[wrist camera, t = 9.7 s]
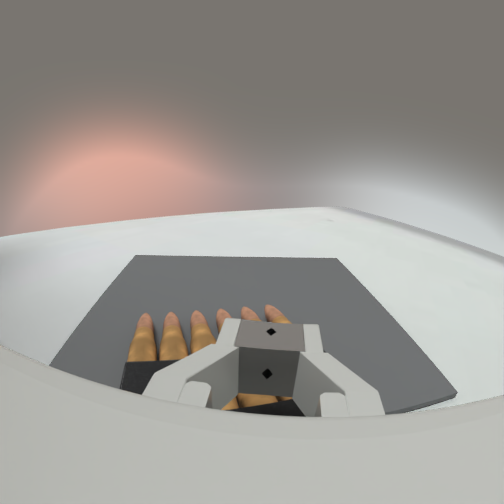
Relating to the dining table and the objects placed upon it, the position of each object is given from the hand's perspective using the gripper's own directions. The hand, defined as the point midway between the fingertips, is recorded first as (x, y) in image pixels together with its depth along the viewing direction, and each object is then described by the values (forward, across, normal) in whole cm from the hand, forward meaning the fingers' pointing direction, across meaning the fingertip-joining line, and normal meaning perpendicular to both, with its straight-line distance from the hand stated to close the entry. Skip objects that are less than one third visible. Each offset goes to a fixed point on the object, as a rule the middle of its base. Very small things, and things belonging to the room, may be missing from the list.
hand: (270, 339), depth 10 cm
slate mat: (+12, +2, +6) cm, 14 cm away
